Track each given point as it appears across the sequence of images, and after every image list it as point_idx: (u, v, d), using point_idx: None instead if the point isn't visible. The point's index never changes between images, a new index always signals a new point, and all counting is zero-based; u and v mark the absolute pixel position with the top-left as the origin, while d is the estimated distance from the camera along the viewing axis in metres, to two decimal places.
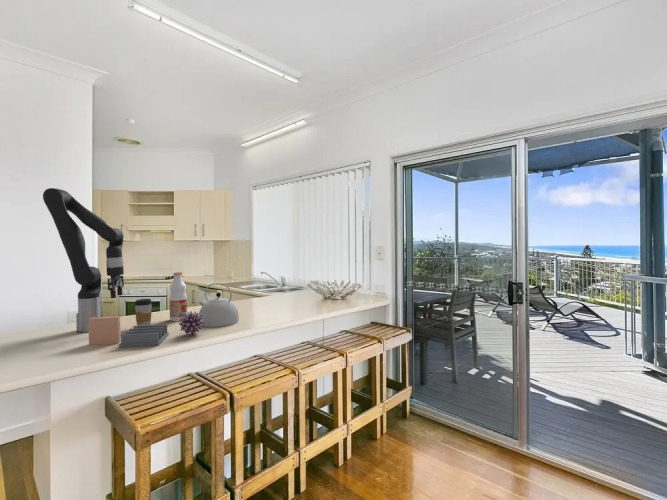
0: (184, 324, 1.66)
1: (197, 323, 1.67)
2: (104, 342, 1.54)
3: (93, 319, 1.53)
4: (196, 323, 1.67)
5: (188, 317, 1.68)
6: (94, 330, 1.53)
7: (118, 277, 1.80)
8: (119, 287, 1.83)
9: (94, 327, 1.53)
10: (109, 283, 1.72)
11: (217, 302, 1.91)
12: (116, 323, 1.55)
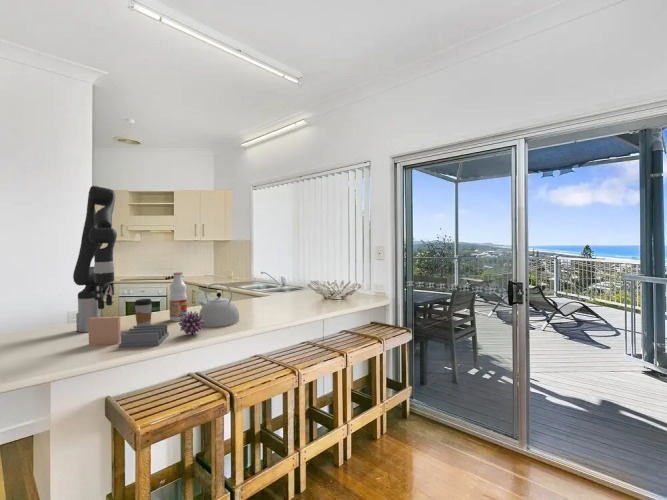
0: (184, 324, 1.66)
1: (197, 323, 1.67)
2: (104, 342, 1.54)
3: (93, 319, 1.53)
4: (196, 323, 1.67)
5: (188, 317, 1.68)
6: (94, 330, 1.53)
7: (107, 284, 1.56)
8: (108, 296, 1.59)
9: (94, 327, 1.53)
10: (96, 292, 1.48)
11: (217, 302, 1.91)
12: (116, 323, 1.55)
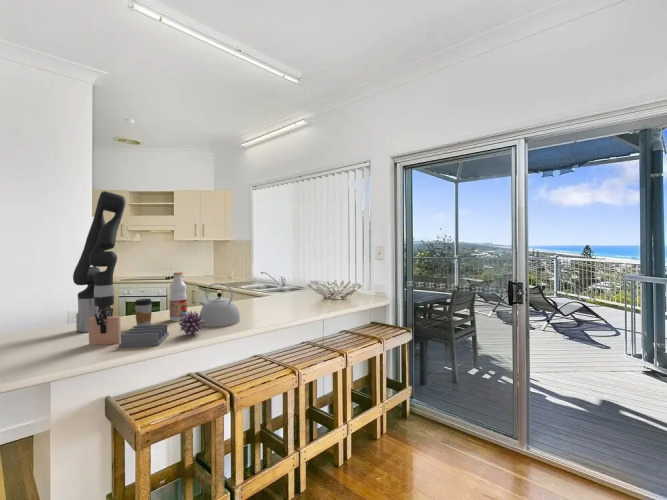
0: (184, 324, 1.66)
1: (197, 323, 1.67)
2: (104, 342, 1.54)
3: (93, 319, 1.53)
4: (196, 323, 1.67)
5: (188, 317, 1.68)
6: (94, 330, 1.53)
7: (107, 307, 1.56)
8: None
9: (94, 327, 1.53)
10: (97, 319, 1.49)
11: (218, 302, 1.91)
12: (116, 323, 1.55)
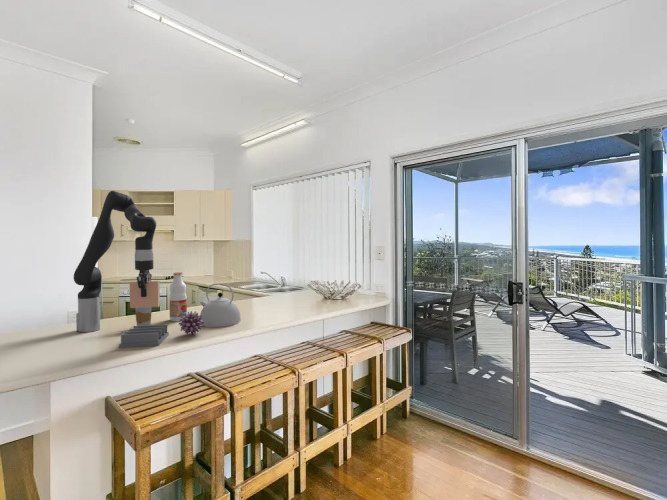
0: (184, 324, 1.66)
1: (197, 323, 1.67)
2: (144, 305, 1.57)
3: (134, 283, 1.56)
4: (196, 323, 1.67)
5: (188, 317, 1.68)
6: (135, 293, 1.56)
7: (147, 272, 1.59)
8: None
9: (135, 291, 1.56)
10: (139, 282, 1.53)
11: (219, 302, 1.90)
12: (156, 287, 1.58)
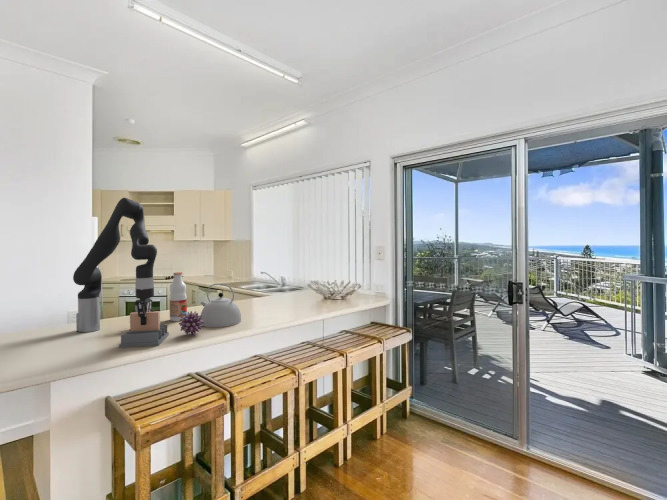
0: (184, 324, 1.66)
1: (197, 323, 1.67)
2: None
3: (134, 314, 1.56)
4: (196, 323, 1.67)
5: (188, 317, 1.68)
6: (135, 324, 1.57)
7: (147, 300, 1.59)
8: None
9: (135, 322, 1.57)
10: (139, 310, 1.52)
11: (219, 302, 1.90)
12: (156, 318, 1.58)
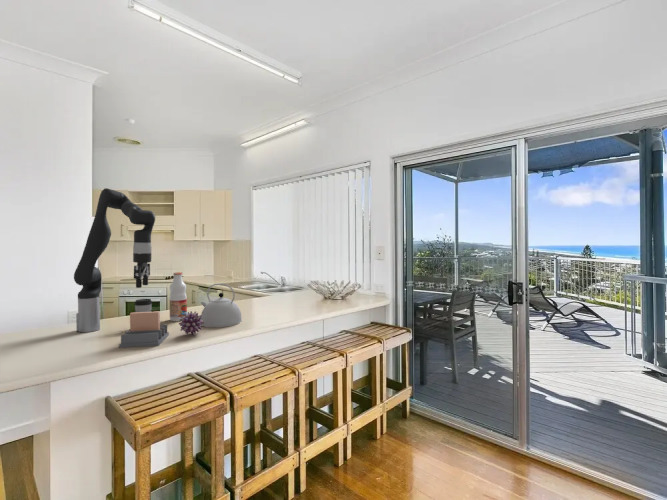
0: (184, 324, 1.66)
1: (197, 323, 1.67)
2: None
3: (134, 314, 1.57)
4: (196, 323, 1.67)
5: (188, 317, 1.68)
6: (135, 324, 1.57)
7: (145, 265, 1.61)
8: (145, 276, 1.65)
9: (135, 322, 1.57)
10: (135, 271, 1.54)
11: (220, 302, 1.90)
12: (156, 318, 1.58)
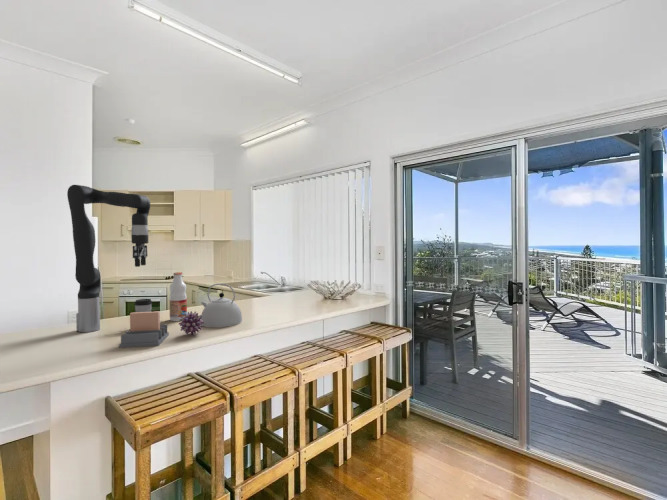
0: (184, 324, 1.66)
1: (197, 323, 1.67)
2: None
3: (134, 314, 1.57)
4: (196, 323, 1.67)
5: (188, 317, 1.68)
6: (135, 324, 1.57)
7: (142, 246, 1.74)
8: (143, 257, 1.77)
9: (135, 322, 1.57)
10: (134, 250, 1.66)
11: (220, 302, 1.90)
12: (156, 318, 1.58)
